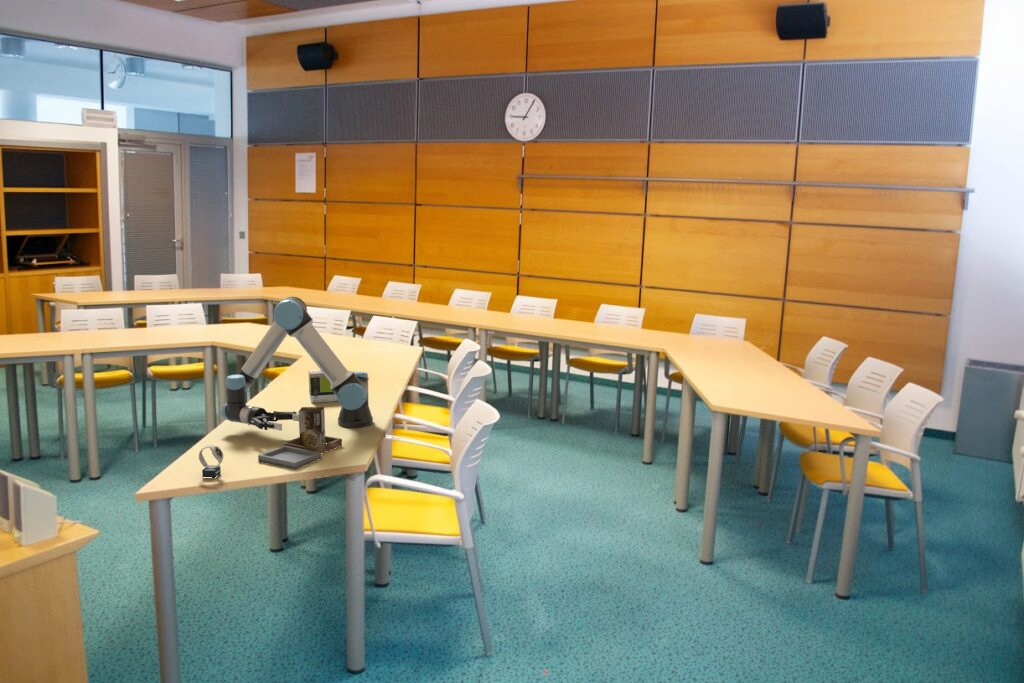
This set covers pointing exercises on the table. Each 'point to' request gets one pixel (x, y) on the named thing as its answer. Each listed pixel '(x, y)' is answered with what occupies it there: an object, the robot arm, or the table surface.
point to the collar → (330, 445)
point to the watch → (211, 469)
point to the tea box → (320, 387)
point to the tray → (289, 457)
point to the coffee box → (312, 426)
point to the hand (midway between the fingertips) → (293, 422)
